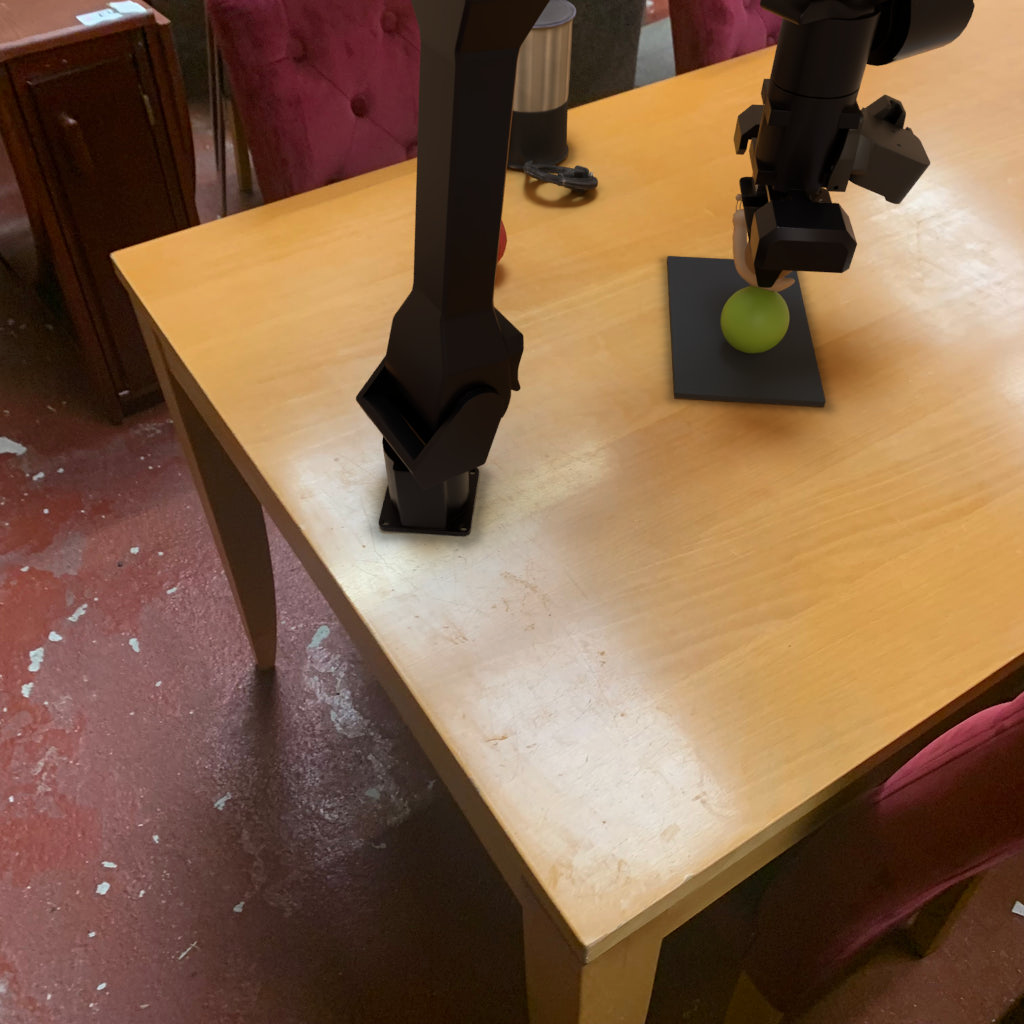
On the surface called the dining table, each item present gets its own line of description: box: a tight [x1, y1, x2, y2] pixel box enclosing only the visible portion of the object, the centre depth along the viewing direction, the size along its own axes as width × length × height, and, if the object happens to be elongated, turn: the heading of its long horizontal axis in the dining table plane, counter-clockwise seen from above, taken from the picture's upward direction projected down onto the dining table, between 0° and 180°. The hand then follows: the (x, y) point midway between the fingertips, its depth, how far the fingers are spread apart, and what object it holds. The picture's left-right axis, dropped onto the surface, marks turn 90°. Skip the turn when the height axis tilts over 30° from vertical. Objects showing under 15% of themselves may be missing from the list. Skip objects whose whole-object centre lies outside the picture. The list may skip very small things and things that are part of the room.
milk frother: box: [507, 0, 599, 194], centre depth 92 cm, size 14×16×15 cm
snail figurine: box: [721, 193, 795, 354], centre depth 72 cm, size 5×6×12 cm
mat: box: [666, 255, 827, 408], centre depth 78 cm, size 20×12×1 cm, turn 175°
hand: (764, 285), depth 70 cm, fingers closed
